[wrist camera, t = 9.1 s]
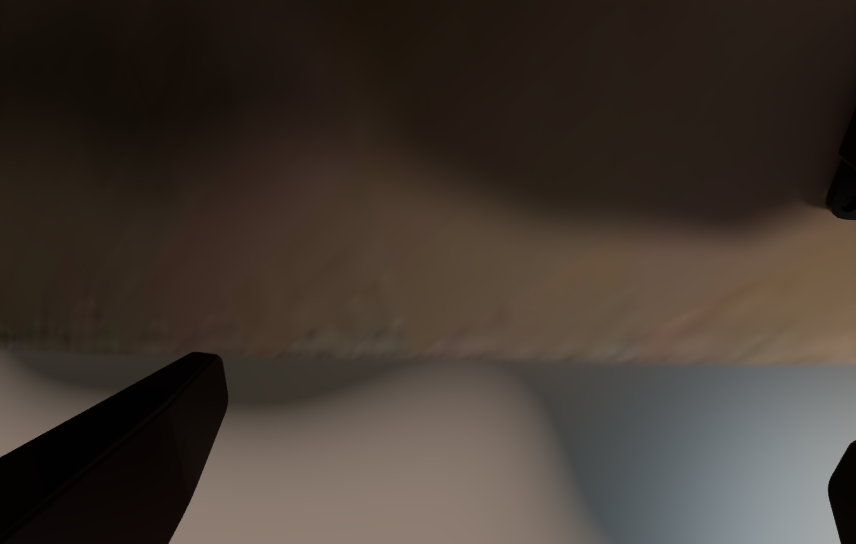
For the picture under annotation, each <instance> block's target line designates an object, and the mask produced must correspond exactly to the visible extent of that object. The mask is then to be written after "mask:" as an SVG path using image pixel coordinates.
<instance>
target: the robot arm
mask: <svg viewBox="0 0 856 544" xmlns="http://www.w3.org/2000/svg"><path fill="white" fill-rule="evenodd" d="M839 155H840V156H841V158H842V159H841V162H840V164H839V167H838V169H837V172H836V174H835V177H834V179H833V182H832V185H831V187H830V190H829V192H828V195H827V197H826V206H827V208H828V209H829V210H830V211H831V212H832V213H833V214H834V215H835V216H836V217H837V218H841V219H846V220H856V108H855V111H854V113H853V116H852V118H851V121H850V123H849V126H848V129H847V131H846V134H845V136H844V139H843V141H842V144H841V147H840V149H839ZM849 196H854V197H853V200H852V202H851V203H850V204H848V205H846V206H841V202H842V201H843V200H844V199H845V198H847V197H849ZM227 406H228V390H227V384H226V378H225V371H224V365H223V361H222V359H221V357H220V356H218V355H216V354H210V353H203V352H192V353H190V354H187V355H186V356H184V357H182V358H180V359H178V360H176V361H175V362H173V363H171V364H169V365H167V366H166V367H164V368H162V369H160V370H158V371H156V372H155V373H153V374H151V375H149V376H147V377H146V378H144V379H142V380H140V381H138V382H136V383H135V384H133V385H131V386H129V387H127V388H126V389H124V390H122V391H120V392H119V393H116V394H115V395H113V396H111V397H109V398H107V399H106V400H104V401H102V402H100V403H98V404H96V405H95V406H93V407H91V408H89V409H87V410H86V411H84V412H82V413H80V414H78V415H77V416H75V417H73V418H71V419H69V420H67V421H66V422H64V423H62V424H60V425H58V426H56V427H55V428H53V429H51V430H49V431H47V432H46V433H44V434H42V435H40V436H38V437H36V438H35V439H33V440H31V441H29V442H27V443H26V444H24V445H22V446H20V447H18V448H16V449H15V450H13V451H11V452H10V453H8V454H6V455H4V456H2V457H0V544H169V542H170V540H171V538H172V536H173V534H174V532H175V530H176V528H177V527H178V525H179V523H180V521H181V519H182V517H183V515H184V513H185V511H186V509H187V506H188V505H189V503H190V501H191V498H192V496H193V494H194V491H195V489H196V486H197V484H198V481H199V479H200V476H201V474H202V471H203V469H204V466H205V464H206V461H207V459H208V456H209V454H210V451H211V449H212V446H213V443H214V441H215V438H216V436H217V433H218V431H219V428H220V426H221V423H222V420H223V418H224V416H225V413H226V410H227ZM828 496H829V501H830V504H831V508H832V512H833V516H834V519H835V523H836V526H837V530H838V534H839V538H840V542H841V544H856V440H855V441H853V442H852V443H851V444H850V445H849V446H848V448H847V450H846V451H845V453H844V455H843V457H842V458H841V460H840V462H839V464H838V465H837V467H836V469H835V471H834V472H833V474H832V476H831V478H830V481H829V484H828Z"/></svg>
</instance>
